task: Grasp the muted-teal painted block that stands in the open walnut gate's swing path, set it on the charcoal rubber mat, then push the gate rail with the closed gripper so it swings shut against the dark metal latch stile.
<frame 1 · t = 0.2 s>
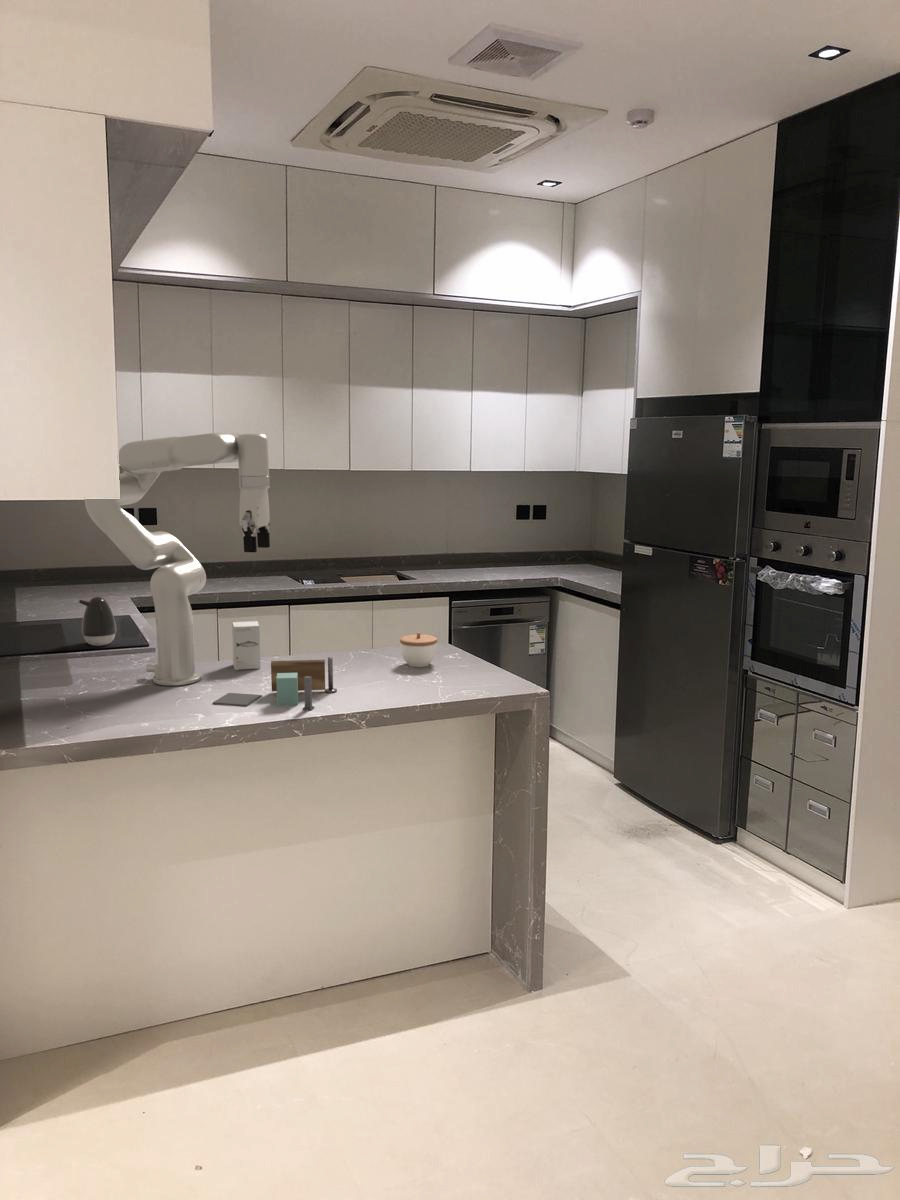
hand: (257, 549, 245), 36 cm above the countertop, tool pointing down, fingers open, 9 cm apart
lidded jar: (418, 665, 276), on the countertop
latch stile: (308, 708, 232), on the countertop
gate post: (330, 691, 247), on the countertop
mat: (237, 700, 239), on the countertop
gate: (298, 675, 245), point 5 cm above the countertop, hinge at 70.0°
supplement box: (246, 667, 272), on the countertop
block: (287, 702, 237), on the countertop
pump dispenser: (99, 644, 300), on the countertop
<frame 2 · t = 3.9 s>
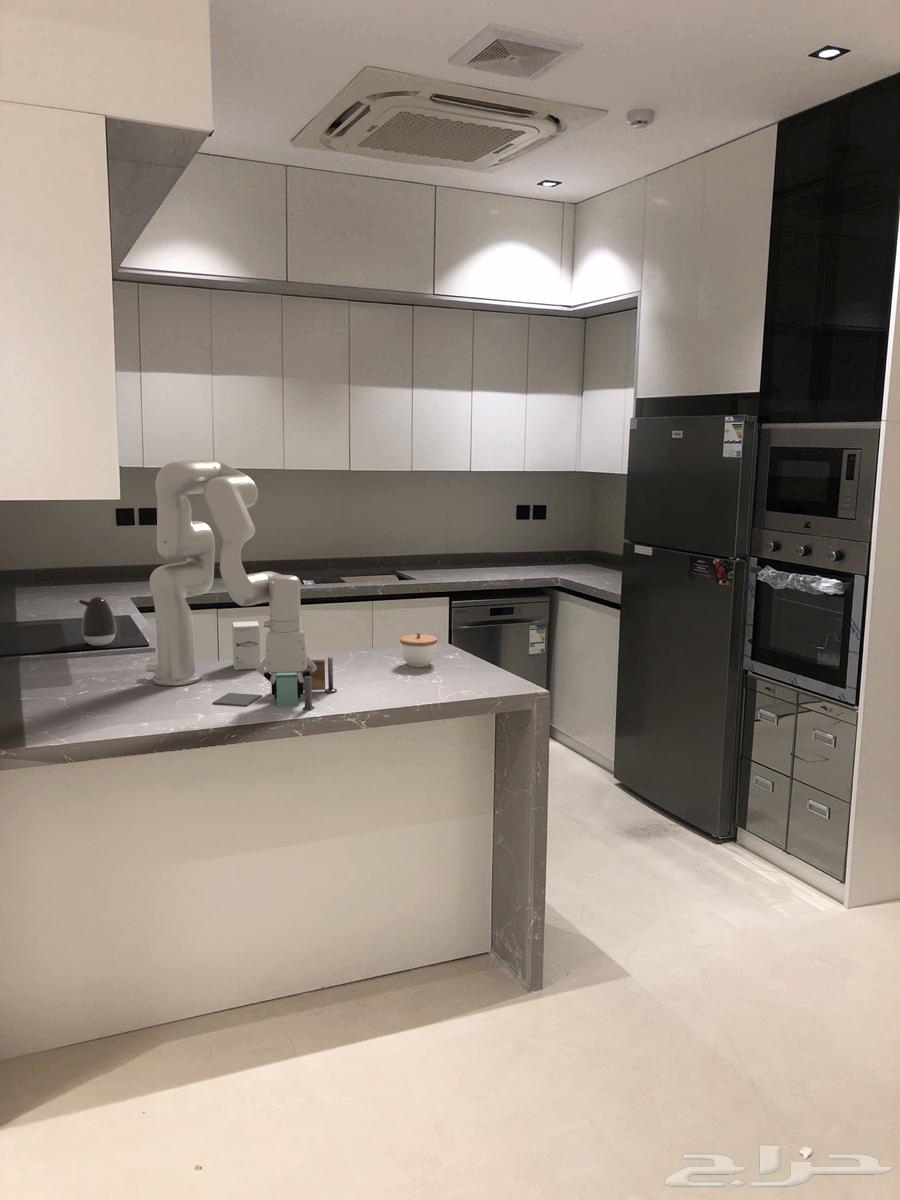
hand: (287, 696, 237), 1 cm above the countertop, tool pointing down, fingers closed on block, 5 cm apart
block: (287, 702, 237), on the countertop, touching gripper
everything else where it was.
when the fingers open (3 cm above the countertop, at t = 8.9 s): block stays where it is, resting on mat.
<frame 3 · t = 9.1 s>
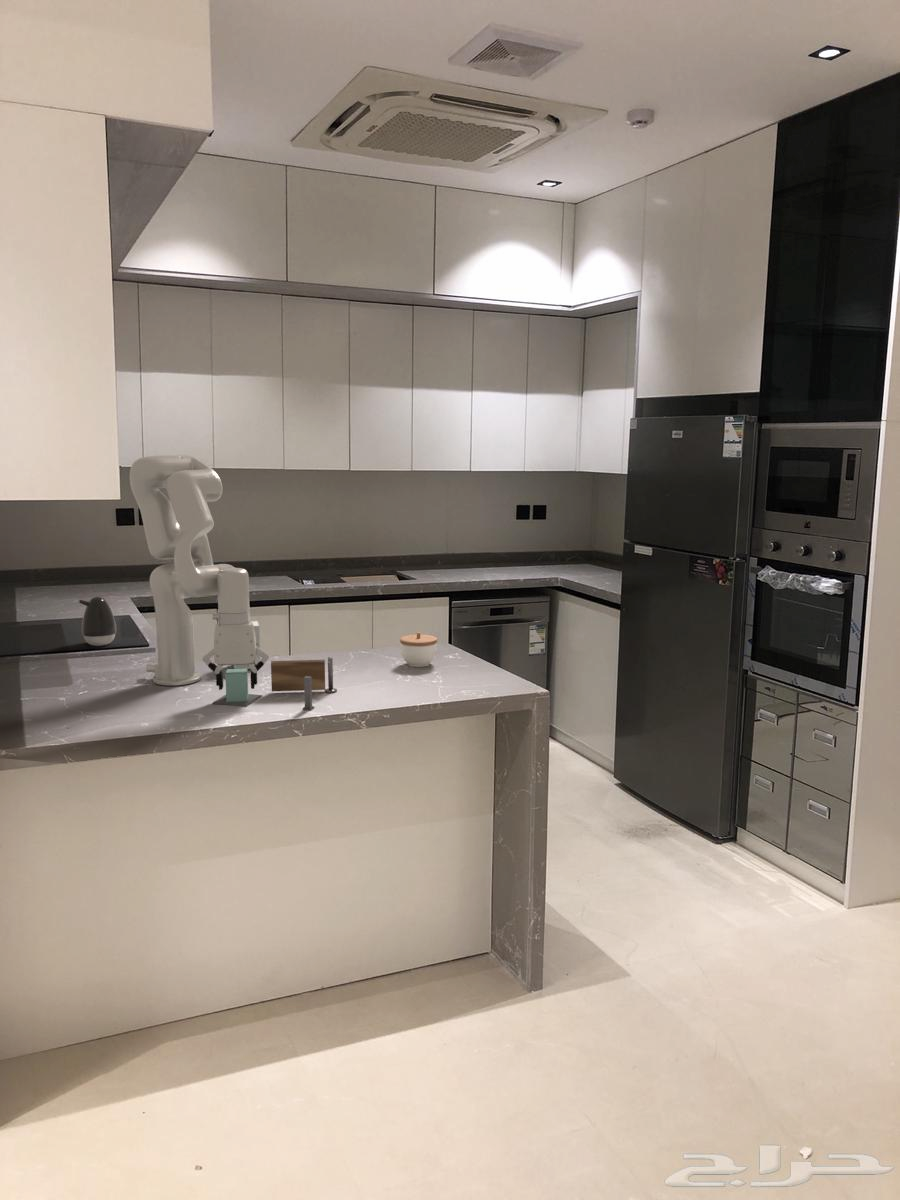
hand: (237, 687, 238), 3 cm above the countertop, tool pointing down, fingers open, 7 cm apart
block: (237, 698, 239), resting on mat
everything else where it was.
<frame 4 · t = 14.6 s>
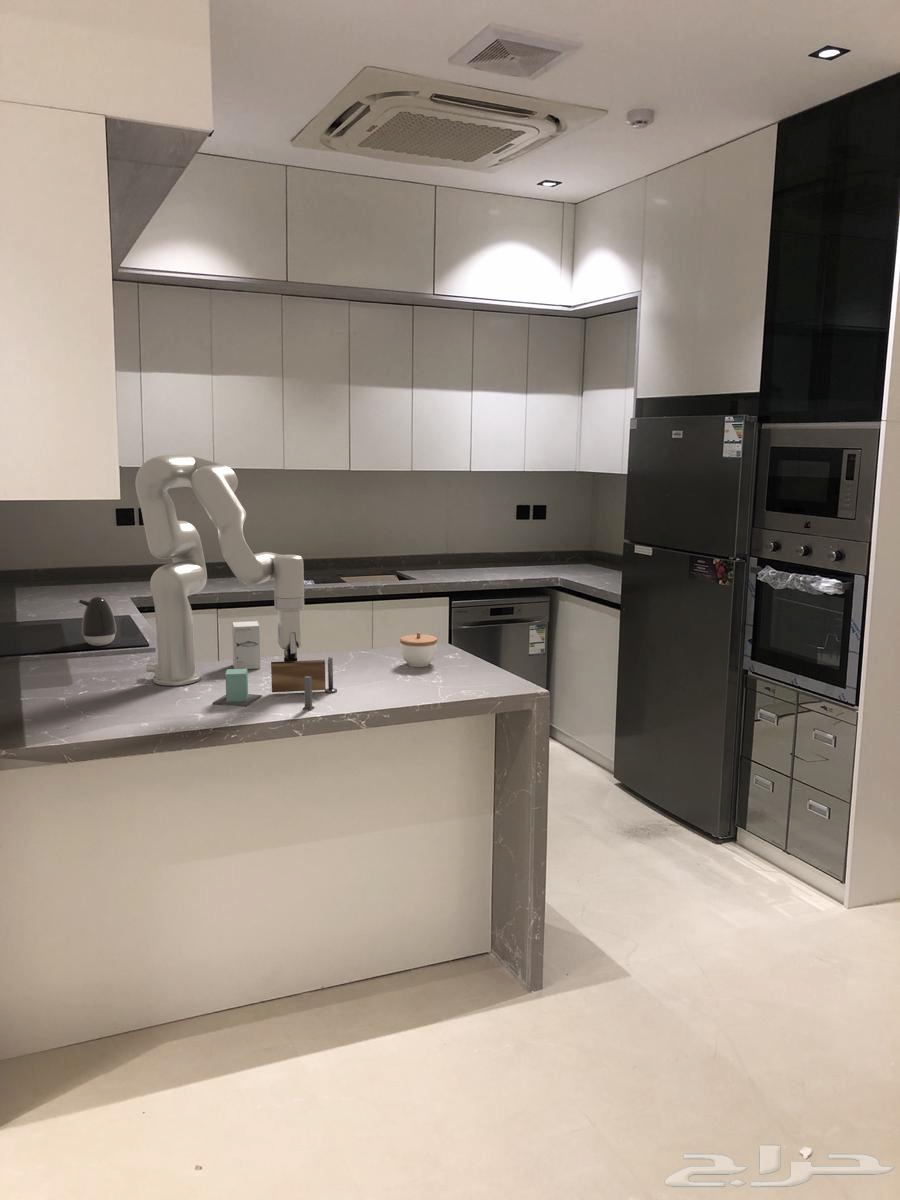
hand: (290, 672, 248), 5 cm above the countertop, tool pointing down, fingers closed
gate: (298, 676, 245), point 5 cm above the countertop, hinge at 66.1°, touching gripper
everything else where it was.
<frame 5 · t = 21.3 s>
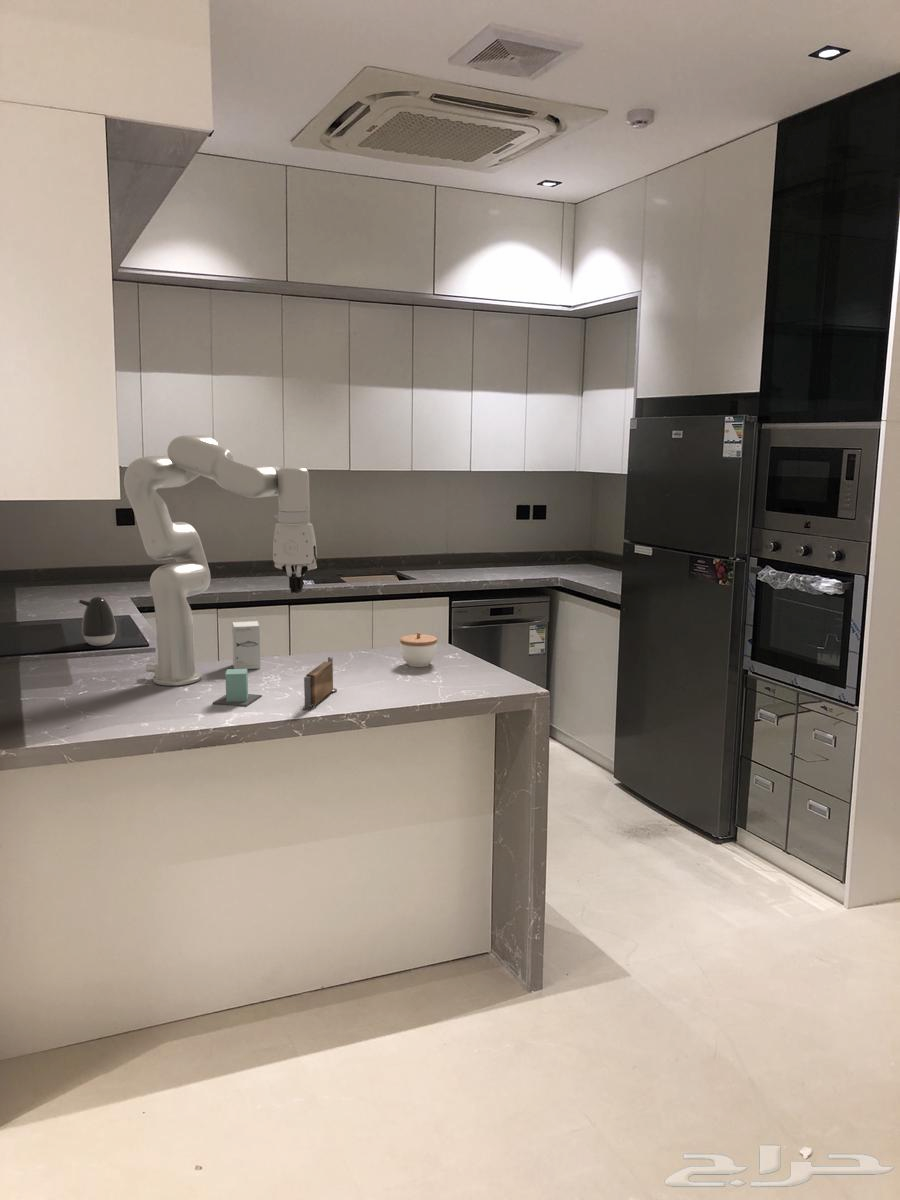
hand: (296, 591, 237), 27 cm above the countertop, tool pointing down, fingers closed
gate: (320, 682, 239), point 4 cm above the countertop, hinge at -1.2°
everything else where it was.
at the end: gate at -1° (first picture: +70°); block 0.0 cm from the mat (horizontally); block tilted 0° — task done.
